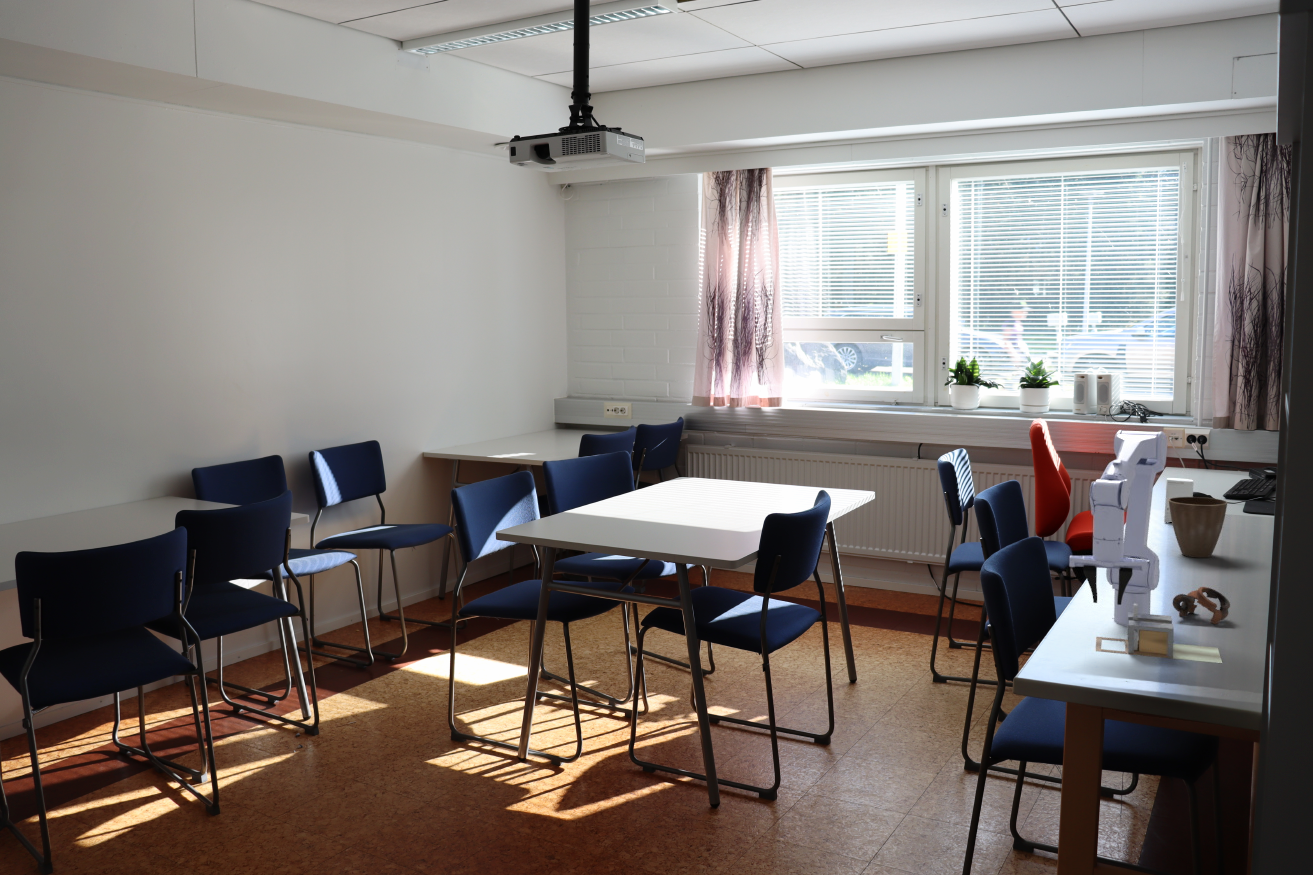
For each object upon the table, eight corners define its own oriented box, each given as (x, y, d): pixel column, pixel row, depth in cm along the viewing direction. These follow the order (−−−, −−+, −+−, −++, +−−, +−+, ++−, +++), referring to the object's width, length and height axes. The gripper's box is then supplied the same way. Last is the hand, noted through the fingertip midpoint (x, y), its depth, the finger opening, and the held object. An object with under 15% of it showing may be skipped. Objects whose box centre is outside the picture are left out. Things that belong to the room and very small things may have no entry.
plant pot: (1158, 549, 294) (1159, 497, 292) (1209, 548, 293) (1210, 495, 292) (1182, 561, 279) (1184, 505, 277) (1236, 560, 278) (1238, 504, 277)
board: (1096, 643, 210) (1096, 636, 210) (1217, 654, 201) (1217, 647, 200) (1095, 657, 201) (1095, 650, 201) (1222, 670, 192) (1222, 662, 191)
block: (1138, 643, 204) (1138, 623, 204) (1165, 646, 202) (1166, 625, 202) (1139, 651, 200) (1139, 629, 199) (1166, 653, 198) (1167, 632, 197)
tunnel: (1127, 639, 207) (1128, 612, 207) (1170, 643, 204) (1171, 615, 203) (1128, 653, 199) (1128, 624, 198) (1173, 657, 195) (1173, 628, 195)
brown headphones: (1200, 612, 232) (1220, 586, 228) (1222, 640, 224) (1243, 614, 220) (1156, 603, 230) (1175, 576, 225) (1176, 631, 222) (1196, 604, 217)
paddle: (1132, 641, 205) (1133, 600, 204) (1136, 641, 205) (1137, 600, 204) (1133, 649, 200) (1133, 607, 199) (1137, 650, 199) (1138, 608, 199)
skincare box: (1164, 523, 332) (1165, 479, 331) (1164, 520, 338) (1165, 477, 336) (1192, 524, 328) (1193, 480, 327) (1192, 521, 334) (1193, 478, 332)
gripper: (1069, 539, 202) (1068, 604, 203) (1148, 543, 196) (1147, 610, 197) (1070, 532, 208) (1069, 595, 209) (1147, 536, 202) (1146, 601, 203)
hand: (1107, 602), depth 204 cm, fingers open, 4 cm apart
